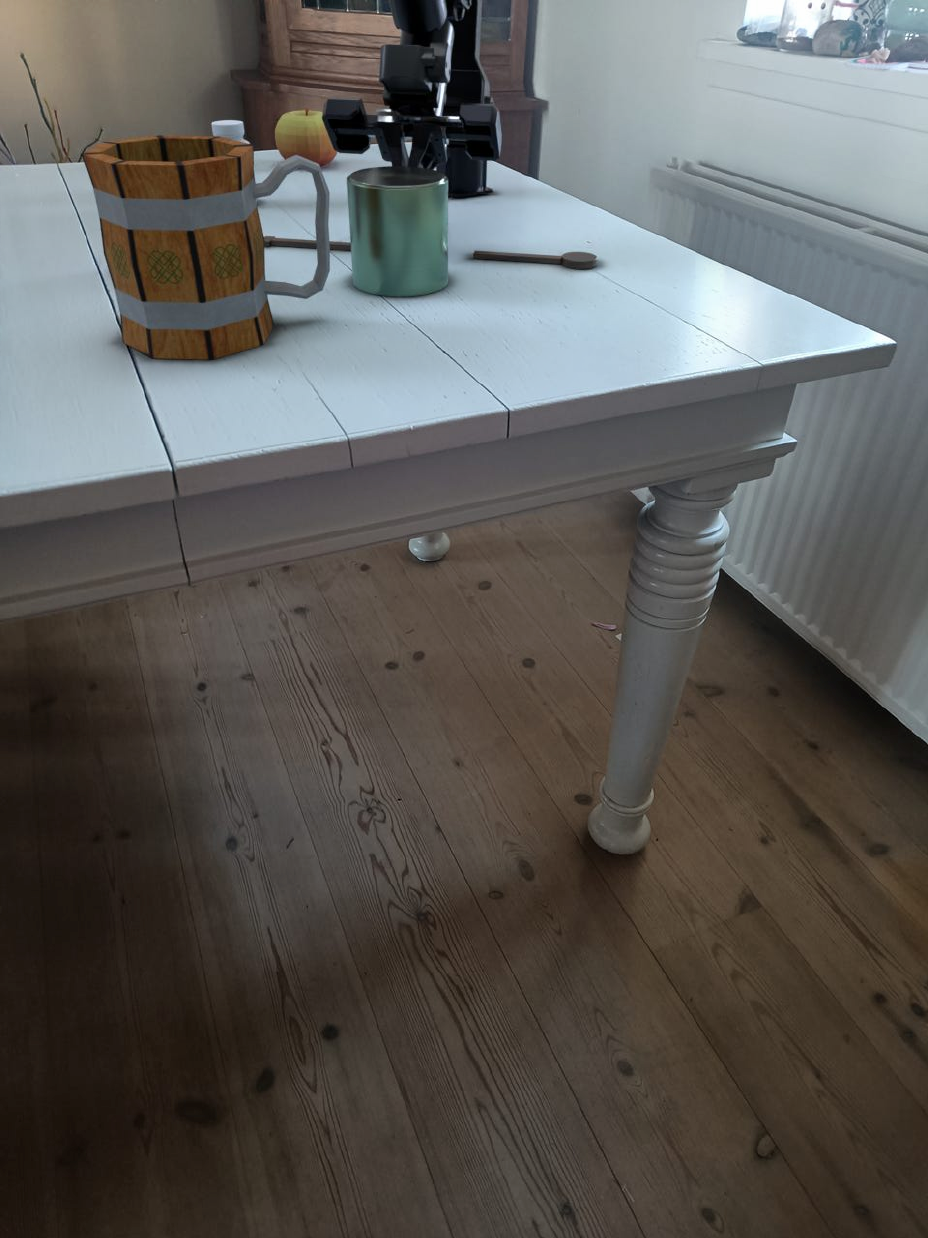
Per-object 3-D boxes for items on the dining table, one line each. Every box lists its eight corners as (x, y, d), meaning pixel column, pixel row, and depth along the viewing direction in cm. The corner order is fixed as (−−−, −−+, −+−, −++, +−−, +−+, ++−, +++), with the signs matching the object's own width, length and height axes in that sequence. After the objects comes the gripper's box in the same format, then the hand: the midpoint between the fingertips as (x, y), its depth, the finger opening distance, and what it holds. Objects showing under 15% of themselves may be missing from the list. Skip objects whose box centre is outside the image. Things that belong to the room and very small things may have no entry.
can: (399, 262, 100) (396, 161, 94) (467, 281, 95) (468, 175, 88) (333, 281, 94) (325, 175, 88) (401, 303, 89) (398, 191, 82)
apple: (312, 174, 136) (307, 114, 131) (265, 166, 140) (258, 108, 135) (353, 164, 143) (350, 106, 138) (306, 156, 147) (302, 100, 142)
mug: (129, 369, 74) (85, 170, 65) (116, 317, 84) (76, 138, 75) (357, 341, 80) (347, 155, 71) (320, 296, 90) (306, 128, 81)
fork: (357, 246, 105) (357, 241, 104) (351, 252, 103) (351, 246, 102) (237, 238, 107) (236, 233, 106) (229, 244, 105) (228, 238, 104)
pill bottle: (263, 199, 122) (253, 119, 116) (251, 209, 118) (241, 125, 112) (224, 198, 123) (213, 118, 117) (211, 207, 118) (199, 124, 113)
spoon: (470, 261, 100) (470, 254, 100) (476, 252, 103) (476, 244, 103) (595, 270, 98) (596, 262, 98) (597, 259, 102) (598, 252, 101)
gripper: (319, 5, 90) (294, 146, 88) (502, 10, 88) (481, 156, 86) (346, 85, 101) (325, 213, 99) (509, 92, 99) (491, 223, 97)
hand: (401, 201), depth 95 cm, fingers closed
